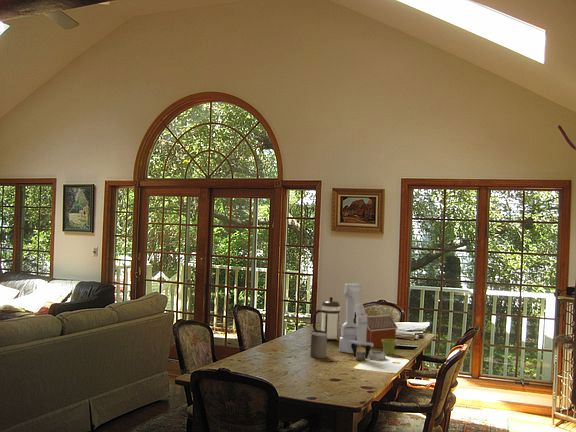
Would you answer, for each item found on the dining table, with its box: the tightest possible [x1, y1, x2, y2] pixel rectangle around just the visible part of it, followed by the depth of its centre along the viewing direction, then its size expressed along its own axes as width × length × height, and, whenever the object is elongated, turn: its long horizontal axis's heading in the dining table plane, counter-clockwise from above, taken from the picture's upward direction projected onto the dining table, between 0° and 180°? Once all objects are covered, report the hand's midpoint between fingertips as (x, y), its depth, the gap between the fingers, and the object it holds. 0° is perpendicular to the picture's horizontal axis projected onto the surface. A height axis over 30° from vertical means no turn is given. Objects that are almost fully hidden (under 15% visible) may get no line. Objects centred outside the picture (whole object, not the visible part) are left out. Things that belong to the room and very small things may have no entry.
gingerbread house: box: [355, 314, 399, 349], centre depth 411 cm, size 18×26×20 cm
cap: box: [355, 351, 366, 362], centre depth 362 cm, size 6×5×4 cm
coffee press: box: [312, 296, 342, 342], centre depth 421 cm, size 17×16×30 cm
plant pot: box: [382, 339, 397, 356], centre depth 381 cm, size 9×9×9 cm
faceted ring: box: [367, 350, 386, 361], centre depth 368 cm, size 10×10×4 cm
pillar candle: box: [310, 332, 328, 359], centre depth 367 cm, size 10×10×15 cm
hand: (360, 357), depth 362 cm, fingers open, 6 cm apart
